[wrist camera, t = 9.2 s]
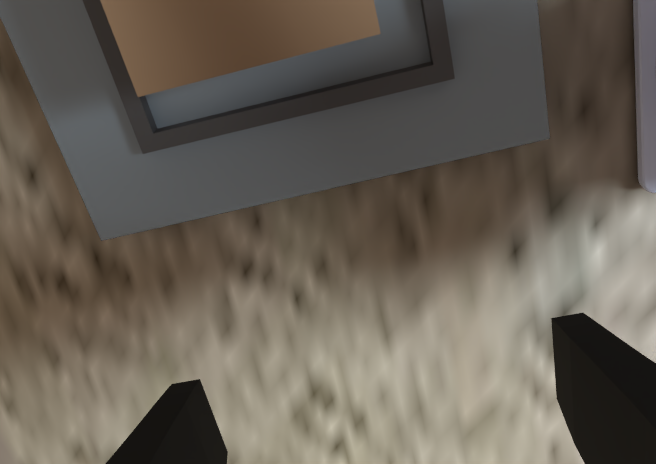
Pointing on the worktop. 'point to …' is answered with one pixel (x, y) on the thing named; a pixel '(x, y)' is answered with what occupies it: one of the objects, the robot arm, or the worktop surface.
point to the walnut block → (226, 35)
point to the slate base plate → (280, 108)
